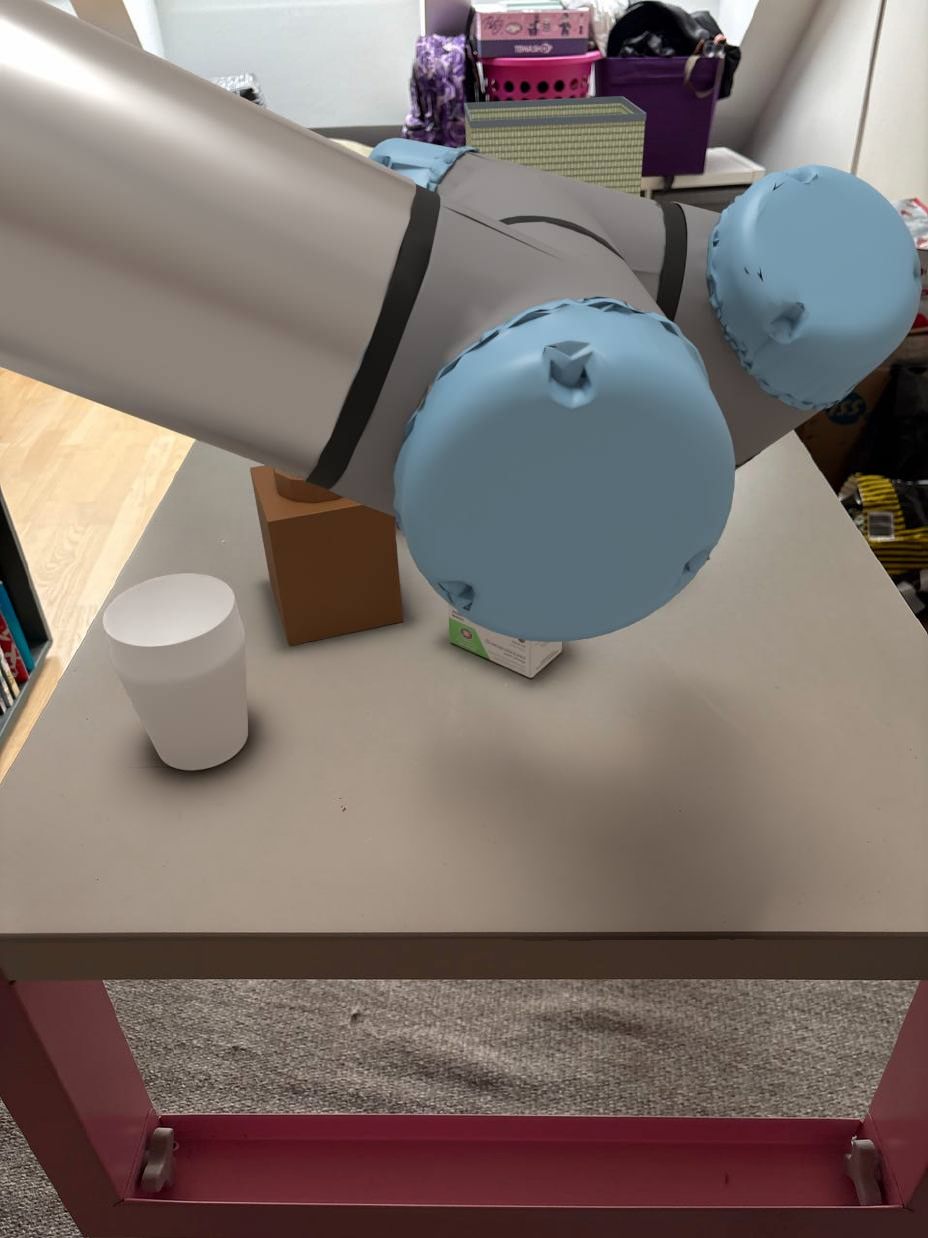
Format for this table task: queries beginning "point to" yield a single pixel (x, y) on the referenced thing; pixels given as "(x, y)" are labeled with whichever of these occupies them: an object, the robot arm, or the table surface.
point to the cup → (183, 666)
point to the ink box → (501, 646)
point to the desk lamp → (564, 137)
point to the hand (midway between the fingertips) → (536, 549)
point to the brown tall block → (326, 558)
